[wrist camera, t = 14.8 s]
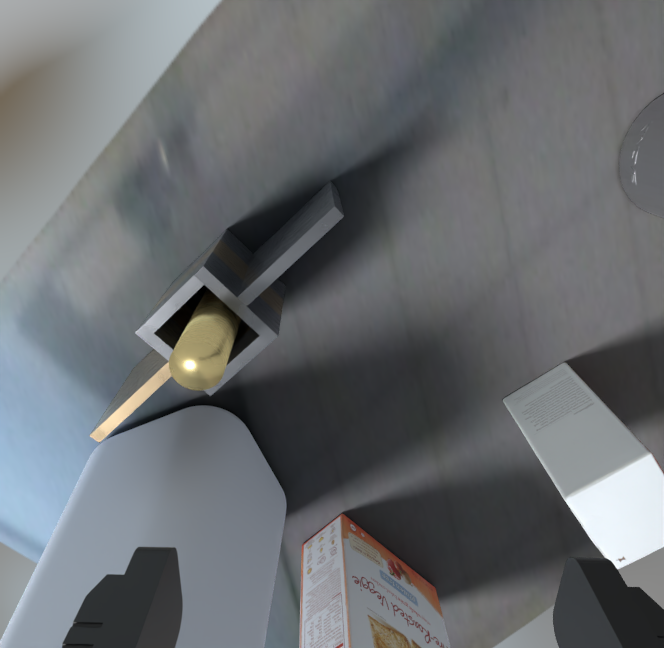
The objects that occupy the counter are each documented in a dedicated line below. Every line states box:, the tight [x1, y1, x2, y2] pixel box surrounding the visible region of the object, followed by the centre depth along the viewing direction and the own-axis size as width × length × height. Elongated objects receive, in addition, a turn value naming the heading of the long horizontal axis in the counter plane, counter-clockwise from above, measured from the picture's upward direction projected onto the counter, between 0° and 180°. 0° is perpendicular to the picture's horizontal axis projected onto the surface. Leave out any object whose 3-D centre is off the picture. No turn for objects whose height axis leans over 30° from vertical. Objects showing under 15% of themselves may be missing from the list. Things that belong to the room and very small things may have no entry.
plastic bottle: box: [0, 405, 287, 648], centre depth 37 cm, size 15×15×28 cm
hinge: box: [90, 181, 344, 443], centre depth 38 cm, size 22×6×10 cm, turn 133°
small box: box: [503, 363, 664, 569], centre depth 42 cm, size 8×6×13 cm
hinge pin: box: [169, 288, 241, 391], centre depth 36 cm, size 3×3×14 cm
